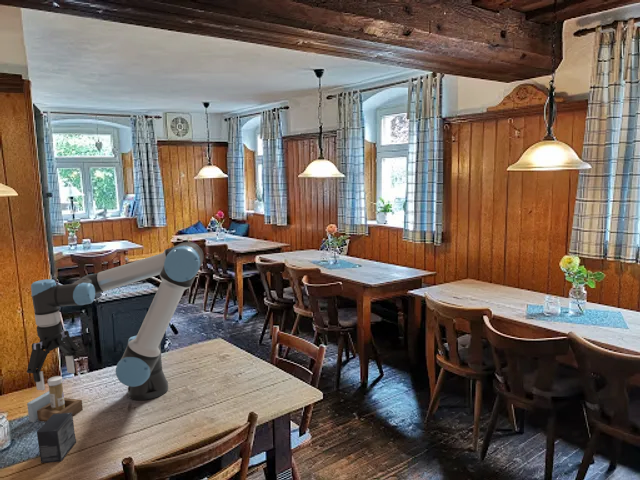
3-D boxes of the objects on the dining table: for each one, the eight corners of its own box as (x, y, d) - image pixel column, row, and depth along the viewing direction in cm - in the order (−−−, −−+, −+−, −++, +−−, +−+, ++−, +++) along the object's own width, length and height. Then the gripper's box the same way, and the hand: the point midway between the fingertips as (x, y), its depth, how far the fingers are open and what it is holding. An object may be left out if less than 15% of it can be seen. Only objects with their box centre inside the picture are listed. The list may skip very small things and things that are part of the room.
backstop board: (60, 405, 174) (58, 388, 173) (34, 422, 163) (31, 403, 162) (56, 405, 175) (54, 387, 174) (29, 421, 163) (27, 403, 162)
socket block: (82, 410, 170) (81, 399, 170) (61, 424, 161) (60, 413, 160) (60, 407, 173) (59, 397, 172) (38, 421, 163) (36, 410, 163)
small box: (56, 443, 149) (52, 413, 148) (76, 442, 150) (73, 411, 148) (39, 463, 139) (35, 431, 137) (61, 462, 139) (58, 429, 138)
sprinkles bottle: (66, 414, 166) (62, 378, 164) (51, 417, 164) (47, 382, 162) (65, 408, 170) (61, 374, 168) (51, 412, 168) (46, 377, 166)
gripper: (67, 312, 175) (74, 365, 178) (8, 335, 151) (17, 396, 154) (83, 313, 173) (90, 366, 176) (26, 336, 149) (36, 398, 152)
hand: (56, 380), depth 165 cm, fingers open, 13 cm apart
